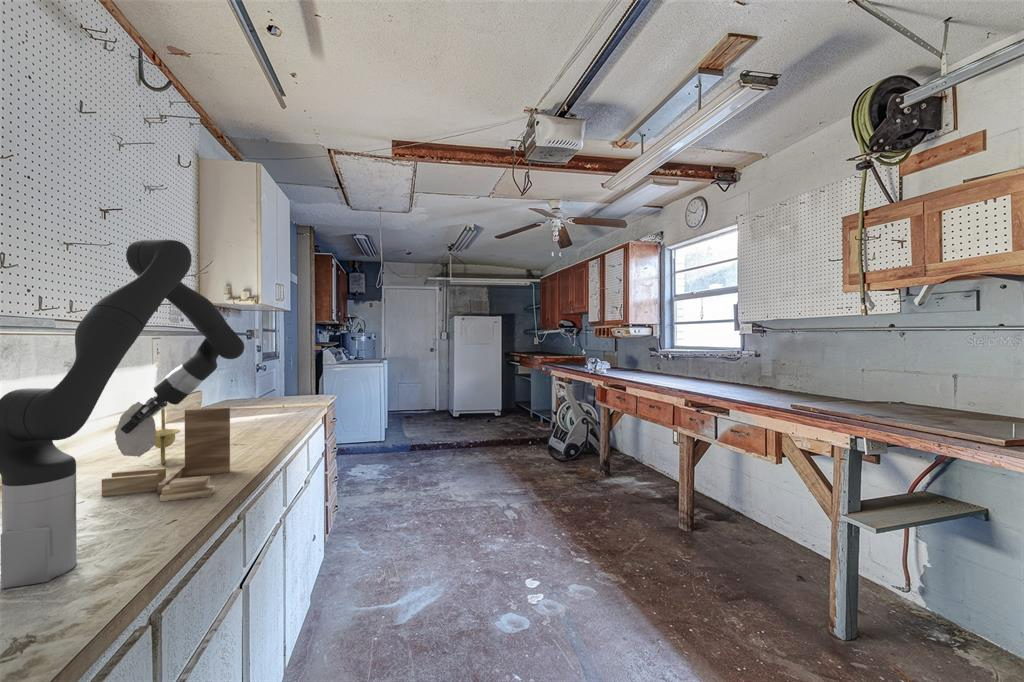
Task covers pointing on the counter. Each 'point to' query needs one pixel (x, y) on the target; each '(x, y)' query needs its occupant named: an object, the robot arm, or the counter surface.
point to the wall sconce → (164, 437)
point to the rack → (204, 444)
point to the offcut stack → (187, 488)
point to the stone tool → (135, 434)
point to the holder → (133, 481)
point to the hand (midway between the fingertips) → (126, 430)
